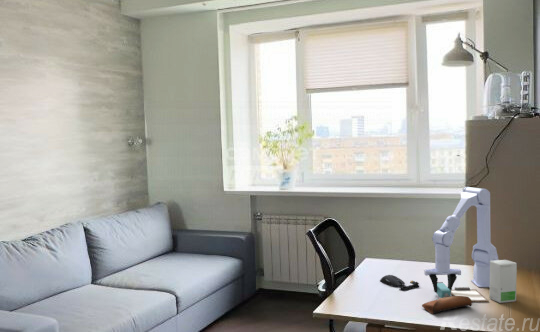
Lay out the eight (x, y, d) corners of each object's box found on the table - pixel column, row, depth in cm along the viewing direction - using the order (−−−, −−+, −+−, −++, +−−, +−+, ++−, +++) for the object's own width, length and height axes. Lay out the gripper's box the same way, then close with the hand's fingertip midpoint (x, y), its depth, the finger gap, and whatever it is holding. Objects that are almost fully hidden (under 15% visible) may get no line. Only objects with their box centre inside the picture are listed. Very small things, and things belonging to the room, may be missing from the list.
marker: (433, 290, 222) (433, 282, 222) (442, 290, 222) (442, 282, 221) (444, 302, 207) (444, 293, 207) (453, 302, 207) (453, 293, 207)
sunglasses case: (456, 297, 208) (463, 287, 204) (467, 312, 203) (474, 302, 199) (419, 305, 201) (426, 294, 197) (429, 320, 196) (436, 309, 192)
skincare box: (499, 303, 204) (499, 264, 203) (488, 298, 210) (488, 260, 209) (517, 301, 206) (517, 262, 205) (505, 295, 213) (505, 258, 211)
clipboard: (447, 291, 220) (447, 287, 220) (476, 290, 220) (476, 287, 220) (458, 302, 206) (458, 298, 206) (488, 302, 206) (488, 298, 206)
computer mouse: (398, 277, 242) (398, 269, 242) (424, 288, 227) (424, 279, 226) (377, 281, 237) (377, 273, 237) (402, 292, 221) (402, 283, 221)
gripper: (427, 262, 210) (427, 295, 212) (463, 262, 210) (463, 294, 211) (422, 258, 218) (422, 289, 219) (457, 257, 217) (457, 289, 218)
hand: (442, 291), depth 215 cm, fingers open, 5 cm apart
